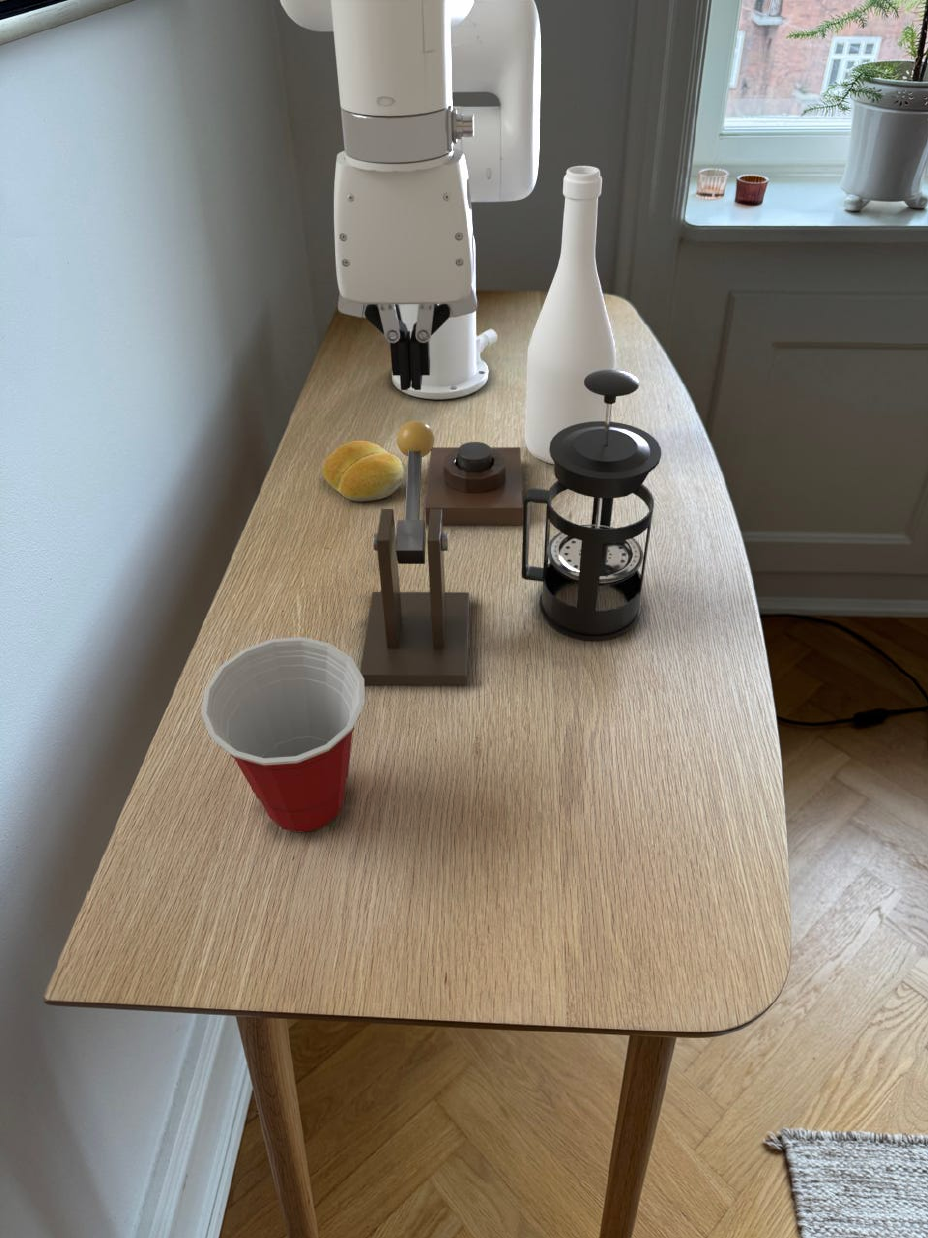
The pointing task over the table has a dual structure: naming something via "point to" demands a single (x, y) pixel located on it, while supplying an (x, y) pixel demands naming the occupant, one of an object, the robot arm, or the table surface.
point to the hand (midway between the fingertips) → (412, 382)
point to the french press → (595, 519)
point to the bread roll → (363, 471)
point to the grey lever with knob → (413, 492)
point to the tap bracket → (415, 618)
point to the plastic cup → (288, 725)
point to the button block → (476, 489)
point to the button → (474, 457)
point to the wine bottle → (569, 326)
